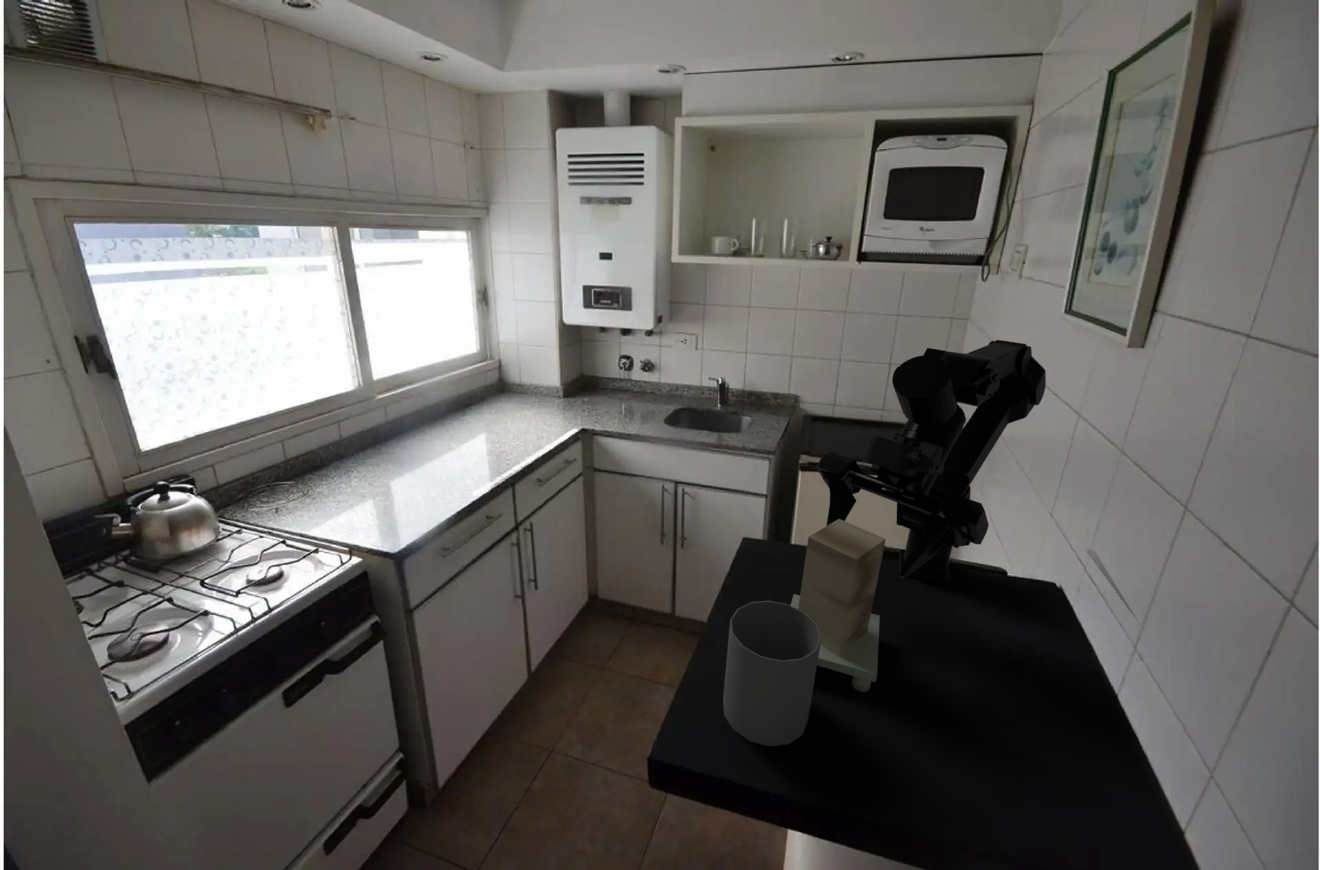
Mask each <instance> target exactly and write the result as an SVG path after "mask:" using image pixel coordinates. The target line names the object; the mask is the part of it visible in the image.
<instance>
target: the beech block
mask: <svg viewBox="0 0 1320 870" xmlns="http://www.w3.org/2000/svg"><path fill="white" fill-rule="evenodd" d="M885 544H886V538H885V537H882V536H881V535H878V534H876V533H875V534H874V532H871V531H868V530H866V529H863V528H861V527H859V526H856V525H855V524H852V523H849V522H847V521H846V520H845V521H843V520H840V519H838V520H836V521H835V522H833V523H831V524H829V525H828V526H824V527H823V528H820V529H819V530H818V531H816V532H814V533H812V534H811V535H809V536H808V538H807V544H806V545H807V546H806V550H805V551H806V552H805V559H804V566H803V572H802V581H801V587H800V593H799V596H800V600H799V607H798V610H800V611H802V612H804V613H806V614H807V615H808V616H809V617H810V618H811V619H812V620H813V621H814V622H815V623H816V624H817V626H818V630H819V633H820V636H821V643H820V645H821V646H823V647H824V648H826V649H827V650H829V651H831V652H832V653H834V654H836V655H837V656H840V655H841V654H842V653H844V652H845V651H846V650H847V649H848V648H849V647H850V646H851V645H853V644H854V643H855V642H856V641H857V640H858V639H859V638H861V637H862V636H863V635H864V634H865V633H866V632H867V631H868V626H869V621H870V616H871V614H872V610H873V605H874V600H875V596H876V595H875V594H876V591H877V585H878V581H879V580H878V579H879V575H880V570H881V565H882V561H883V560H882V559H883V554H884V550H885Z"/></svg>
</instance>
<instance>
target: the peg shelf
mask: <svg viewBox="0 0 1320 870" xmlns="http://www.w3.org/2000/svg"><path fill="white" fill-rule="evenodd" d="M799 600H800V594H799V595H798V594H794V593H793V596H792V599H791V603H790V606H792V607H794V608H796V609H798V607H799ZM879 638H880V614H875V613H871V616H870V621H869V626H868V631H867V632H866V633H865V634H864V635H863V636H862V637H861V638H859V639H858V640H857V641H856V642H855V643H854V644H853V645H851V646H850V647H849V648H848V649H847V650H846V651H845V652H844V653H842V654H841V655H840V656H837V655H836V654H834V653H832V652H831V651H829V650H827V649H826V648H824V647H823V646H821V645H820V649H819V656H818V662H817V667H821V668H825V669H827V670H828V669H829V670H832V671H836V672H838V673H842V674H846V675H849V676H852V681H851V685H852V687H853V689H855V690H856V691H858V692H861V693H867V692H869V691H870V690H871V689H870V688H871V685H872V683H873V682H874V683H876V682H877V677H878V664H879V663H878V661H879V644H880V643H879V641H880V639H879Z"/></svg>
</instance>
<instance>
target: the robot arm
mask: <svg viewBox="0 0 1320 870" xmlns="http://www.w3.org/2000/svg"><path fill="white" fill-rule="evenodd" d="M891 382H892V386H893V388H894V392H895V395H896V396H897V397H896V398H897V400H898V402H899V406H900V409H901V411H902V414H903V415H904V417H905V418H906V419H907V420H906V423H905V425H904V426H903V427H902V430H901V432H900V434H898V433H895V434H894V435H892V437H891V439H890V438H889V439H888V438H885V437H882V436H878V435H875V434H872V436H871V439H870V441H869V444H868V447H867V450H866V453H865V455H864V458H863V460H862V462H863V463H866V464H868V465H869V464H870V465H871V466H870V469H871V470H872V472H873V473H876V474H877V476H873V475H870V474H867V473H864V472H863V471H862V470H861V468H860V466H859V464H858V462H857V461H856V459H852V458H850V457H847V456H844V455H840V454H839V453H835V452H832V451H830V452H828V453H825V454H824V455H822V456H821V457H820V459H819V460H818V463H817V464H816V465H815V469H816V470H817V472H818V474H820V476H821V478H822V480H823V482H824V483H825V484H826V486H827V487H828V489H829V505H828V506H829V507H828V513H827V521H826V526H828V525H829V524H831V523H833V522H835V521H836V520H838V519H840V520H843V521H845V522H846V519H847V518H848V516H849V514H850V513H851V511H852V510H853V508H854V506H855V504H856V502H857V499H856V498H855V496H854V495H856V494H858V493H859V492H860V491H861V490H864V491H866V492H868V493H871V494H873V495H876V496H878V497H881V498H885V499H887V500H889V501H892V502H894V503H896V523H895V524H896V525H897V526H899V527H904V528H905V529H909V530H908V531H909V532H908V535H907V541H906V545H905V549H902V548H901V549H900V550H899V576H900V578H902V579H907V578H908V577H912V578H915V579H920V580H924V581H928V582H933V583H938V584H943V585H946V586H947V585H951V583H952V578H951V573H950V571H951V570H950V565H949V562H950V559H951V555H952V550H953V548H956V549H959V548H960V547H965V546H970V545H971V543H972V544H974V545H981V544H982V542H983V541H984V539H985V537H986V535H987V532H988V529H989V525H990V524H989V521H988V518H987V513H986V510H985V508H984V505H983V504H982V502H979V501H976V500H972V499H971V491H972V490H971V483H972V482H973V480H974V479H975V478H976V476H977V474H978V472H979V471H980V469H981V468H982V466H983V464H984V463H985V461H986V460H987V458H988V456H989V455H990V453H991V452H992V451H993V448H994V447H995V445H996V443H997V442H998V440H999V439H1000V437H1001V436H1002V435H1003V434H1002V433H1003V432H1004V430H1005V429H1006V428H1007V426H1008V425H1009V424H1011V423H1014V422H1018V421H1019V420H1023V419H1025V418H1027V417H1028V416H1029V414H1030V412H1031V411H1032V410H1033V409H1034V407H1035V406H1039V405H1040V403H1041V402H1042V399H1043V397H1044V395H1045V391H1046V386H1047V385H1046V384H1047V383H1046V369H1045V368H1044V367H1043V366H1042V364H1040V363H1039V361H1038V360H1036V358H1034V357H1033V353H1032V346H1030V345H1027V344H1026V343H1023V342H1016V341H1008V340H1002V339H996V340H991V341H990V342H989V343H988V345H985V346H983V347H979V348H977V349H975V350H972V351H969V352H967V353H963V352H955V351H948V350H944V349H936V348H932V347H927V348H926V350H925V351H924V353H923V354H922V355H918V356H915V357H912V358H911V357H910V358H909V359H907V360H906V361H904V362H902V363H901V364H900V365H899V366H897V367H896V368H895V370H894V371H893V373H892V379H891ZM958 403H960V404H964V405H969V406H972V407H976V409H975V410H974V412H973V413H972V414H971V417H970V418H969V419H968V420H967V418H966V414H965V412H964V410H963V408H962V407H961V406H960V405H959V404H958ZM826 526H825V527H826Z"/></svg>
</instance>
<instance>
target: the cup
mask: <svg viewBox="0 0 1320 870" xmlns="http://www.w3.org/2000/svg"><path fill="white" fill-rule="evenodd" d="M729 620H730V621H729V631H728V641H727V653H726V664H725V675H724V684H723V685H724V687H723V697H722V701H723V702H722V703H723V704H722V705H723V715H724V717H725V719H726V720H727V722H728V724H729V726H730V727H731V728H732V729H733V731H735V732H736V733H737V734H739V735H740V736H741V737H743V738H744V739H746V740H747V741H749V742H752V743H755V744H758V745H763V746H767V747H778V746H787V745H790V744H792V743H793V742H795V741H796V740H797V739H798V738H800V737H802V736H803V735H804V732H805V729H806V727H807V724H808V721H809V716H810V709H811V705H812V698H813V691H814V685H815V680H816V674H817V672H816V671H817V667H818V666H817V662H818V656H819V649H820V643H821V636H820V633H819V630H818V626H817V624H816V623H815V622H814V621H813V620H812V619H811V618H810V617H809V616H808V615H807V614H806V613H804V612H802V611H800V610H798V609H796V608H794V607H792V606H791V604H787V603H783V602H777V601H772V600H762V601H750V602H749V603H747V604H745V605H743V606H741V607H739V608H737V609H736V611H735V612H734V614H733V615H732V617H731V618H730V619H729Z"/></svg>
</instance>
